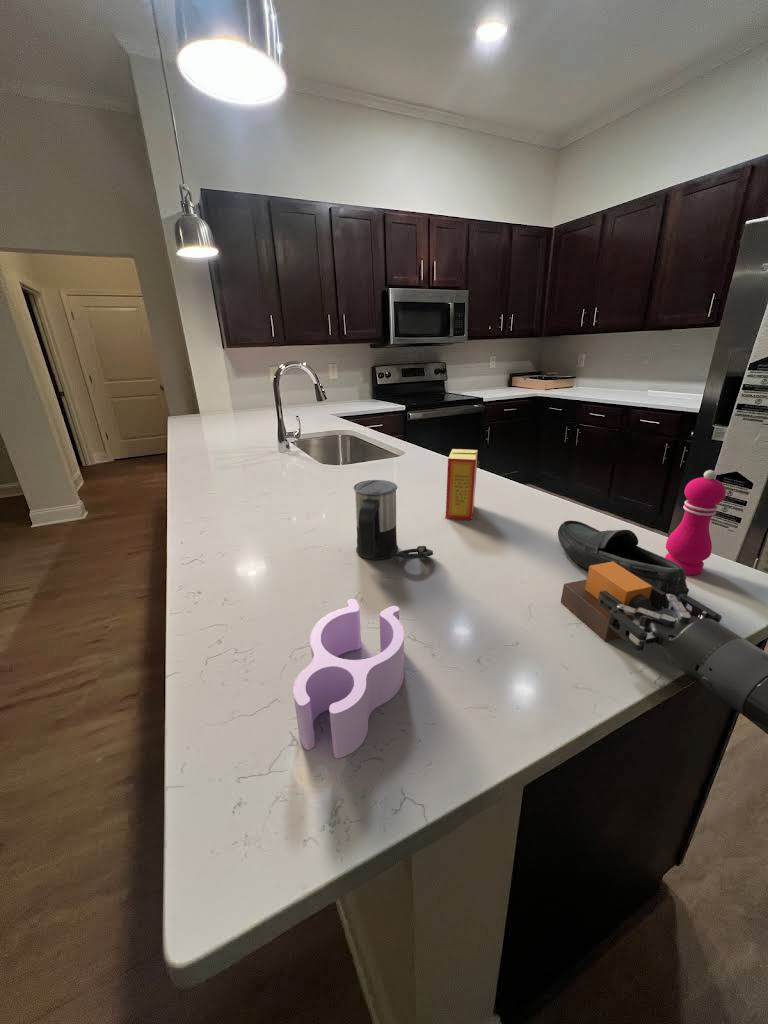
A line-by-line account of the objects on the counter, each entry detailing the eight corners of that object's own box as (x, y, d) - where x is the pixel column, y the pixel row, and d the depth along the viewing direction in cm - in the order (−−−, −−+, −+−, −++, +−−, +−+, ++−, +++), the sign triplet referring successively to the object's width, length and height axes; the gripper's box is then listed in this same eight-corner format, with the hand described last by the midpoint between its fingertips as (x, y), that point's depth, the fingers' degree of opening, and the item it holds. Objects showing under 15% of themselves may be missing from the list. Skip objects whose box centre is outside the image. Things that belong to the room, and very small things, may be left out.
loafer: (579, 538, 95) (587, 496, 90) (705, 613, 69) (723, 559, 65) (540, 546, 92) (546, 503, 88) (656, 626, 66) (672, 571, 62)
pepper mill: (712, 571, 81) (745, 472, 73) (690, 580, 78) (722, 479, 70) (674, 555, 87) (701, 462, 79) (652, 563, 84) (678, 468, 76)
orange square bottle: (652, 616, 63) (659, 590, 61) (627, 622, 62) (633, 596, 60) (607, 584, 71) (613, 561, 69) (584, 589, 70) (589, 565, 68)
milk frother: (355, 541, 96) (352, 479, 90) (423, 537, 97) (424, 476, 91) (358, 574, 83) (354, 505, 77) (436, 568, 84) (439, 500, 78)
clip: (373, 768, 46) (371, 723, 43) (272, 740, 49) (265, 696, 46) (414, 646, 63) (415, 609, 60) (338, 632, 67) (335, 595, 64)
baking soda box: (471, 520, 105) (475, 458, 99) (445, 517, 107) (448, 457, 100) (473, 506, 113) (478, 448, 107) (449, 504, 115) (452, 447, 109)
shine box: (652, 630, 66) (658, 610, 64) (604, 641, 63) (609, 621, 62) (603, 593, 75) (607, 575, 73) (560, 602, 73) (563, 583, 71)
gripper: (782, 629, 51) (664, 563, 65) (688, 653, 47) (586, 578, 62) (761, 676, 54) (653, 603, 68) (672, 702, 50) (578, 619, 65)
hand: (621, 591), depth 65 cm, fingers open, 7 cm apart
